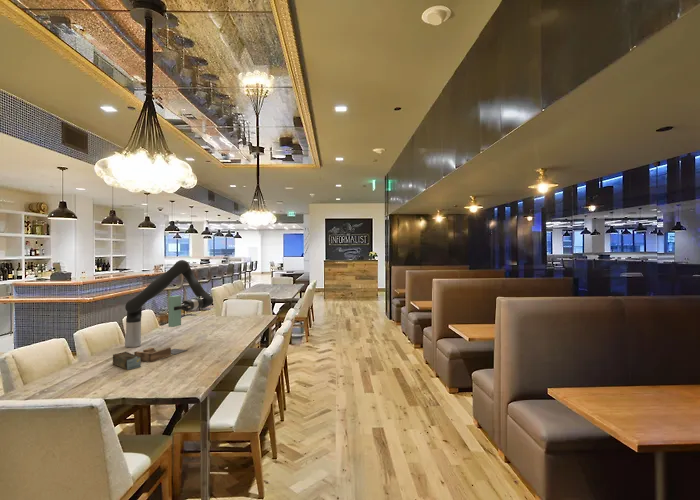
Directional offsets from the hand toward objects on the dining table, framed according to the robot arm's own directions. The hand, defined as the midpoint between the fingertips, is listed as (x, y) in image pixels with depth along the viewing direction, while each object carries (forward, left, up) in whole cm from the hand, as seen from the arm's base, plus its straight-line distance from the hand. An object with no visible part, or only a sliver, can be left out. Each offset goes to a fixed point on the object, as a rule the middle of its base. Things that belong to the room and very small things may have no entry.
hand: (171, 308), depth 252 cm
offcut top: (-11, -9, -26) cm, 30 cm away
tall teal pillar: (+1, +2, -12) cm, 12 cm away
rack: (-8, -9, -29) cm, 32 cm away
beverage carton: (-19, -25, -30) cm, 43 cm away
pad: (+1, +2, -29) cm, 29 cm away
